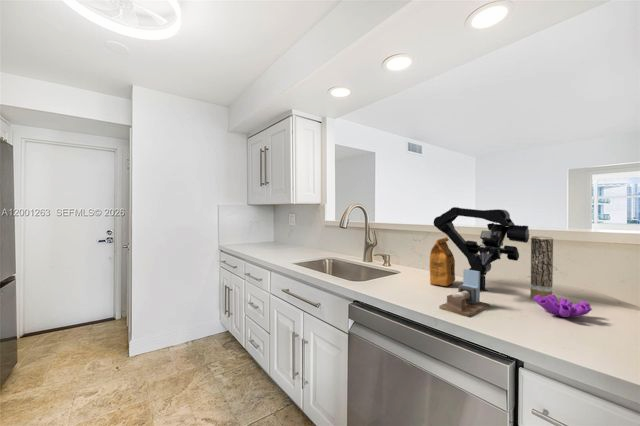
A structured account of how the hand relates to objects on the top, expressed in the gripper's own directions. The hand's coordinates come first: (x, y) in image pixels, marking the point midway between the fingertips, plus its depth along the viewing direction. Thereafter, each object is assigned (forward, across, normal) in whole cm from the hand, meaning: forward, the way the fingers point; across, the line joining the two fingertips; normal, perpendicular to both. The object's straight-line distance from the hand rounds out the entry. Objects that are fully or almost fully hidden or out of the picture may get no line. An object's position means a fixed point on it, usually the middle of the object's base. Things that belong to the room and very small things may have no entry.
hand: (483, 265), depth 109 cm
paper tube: (-4, +15, +22) cm, 27 cm away
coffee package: (+4, -21, +16) cm, 27 cm away
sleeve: (+16, +1, 0) cm, 16 cm away
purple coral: (+7, +24, +10) cm, 27 cm away
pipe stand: (+21, +1, -2) cm, 21 cm away
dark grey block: (+18, +1, -2) cm, 18 cm away
